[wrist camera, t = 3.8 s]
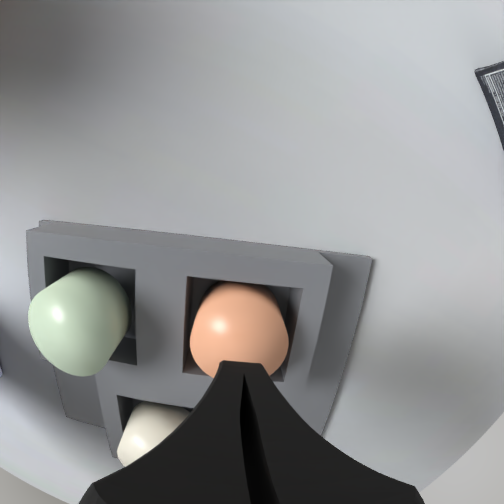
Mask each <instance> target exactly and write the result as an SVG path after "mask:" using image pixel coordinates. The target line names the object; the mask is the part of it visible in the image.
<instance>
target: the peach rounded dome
mask: <svg viewBox="0 0 504 504" xmlns="http://www.w3.org/2000/svg"><path fill="white" fill-rule="evenodd" d="M288 345H289V341H288V334H287V330H286V327H285V324H284V321H283V318H282V315H281V312H280V309H279V306H278V303H277V300H276V298H275V296H274V295H273V293H272V292H271V291H270V290H269V289H268V288H267V287H266V286H265V285H263V284H254V283H244V282H235V281H226V280H221V281H219V282H217V283H215V284H214V285H212V286H211V287H210V288H209V289H208V290H207V291H206V292H205V294H204V295H203V297H202V299H201V301H200V304H199V307H198V311H197V314H196V318H195V321H194V325H193V328H192V332H191V336H190V348H191V353H192V355H193V358H194V360H195V362H196V363H197V365H198V366H199V367H200V368H201V369H202V370H203V371H204V372H205V373H206V374H208V375H209V376H211V377H212V378H214V377H215V375H216V372H217V370H218V367H219V363H220V362H221V361H223V360H227V361H238V362H250V363H261V364H262V365H263V366H264V368H265V370H266V371H267V373H268V375H269V376H270V375H271V374H272V373H274V372H275V371H276V370H277V369H278V368H279V367H280V365H281V364H282V362H283V361H284V359H285V357H286V354H287V351H288Z"/></svg>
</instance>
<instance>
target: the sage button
mask: <svg viewBox="0 0 504 504" xmlns="http://www.w3.org/2000/svg"><path fill="white" fill-rule="evenodd" d="M131 319H132V310H131V304H130V301H129V298H128V296H127V294H126V292H125V290H124V288H123V287H122V286H121V284H120V283H119V282H118V281H117V280H116V279H115V278H114V277H113V276H112V275H110V274H109V273H107V272H105V271H103V270H101V269H98V268H95V267H81V268H78V269H75V270H73V271H72V272H70V273H69V274H67V275H65V276H64V277H62V278H61V279H59V280H58V281H56V282H54V283H53V284H51V285H50V286H48V287H47V288H45V289H44V290H42V291H41V292H39V293H38V294H37V295H36V296H35V297H34V298H33V300H32V302H31V304H30V307H29V312H28V322H29V328H30V332H31V335H32V338H33V340H34V342H35V344H36V346H37V347H38V349H39V350H40V352H41V353H42V354H43V355H44V357H45V358H46V359H47V360H48V361H49V362H50V363H52V364H53V365H54V366H55V367H57V368H58V369H60V370H62V371H64V372H66V373H68V374H71V375H75V376H90V375H93V374H96V373H98V372H99V371H100V370H101V369H103V367H104V366H105V365H106V363H107V361H108V360H109V358H110V357H111V355H112V354H113V352H114V351H115V349H116V348H117V346H118V345H119V343H120V342H121V340H122V339H123V337H124V336H125V334H126V333H127V331H128V329H129V327H130V324H131Z"/></svg>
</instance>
